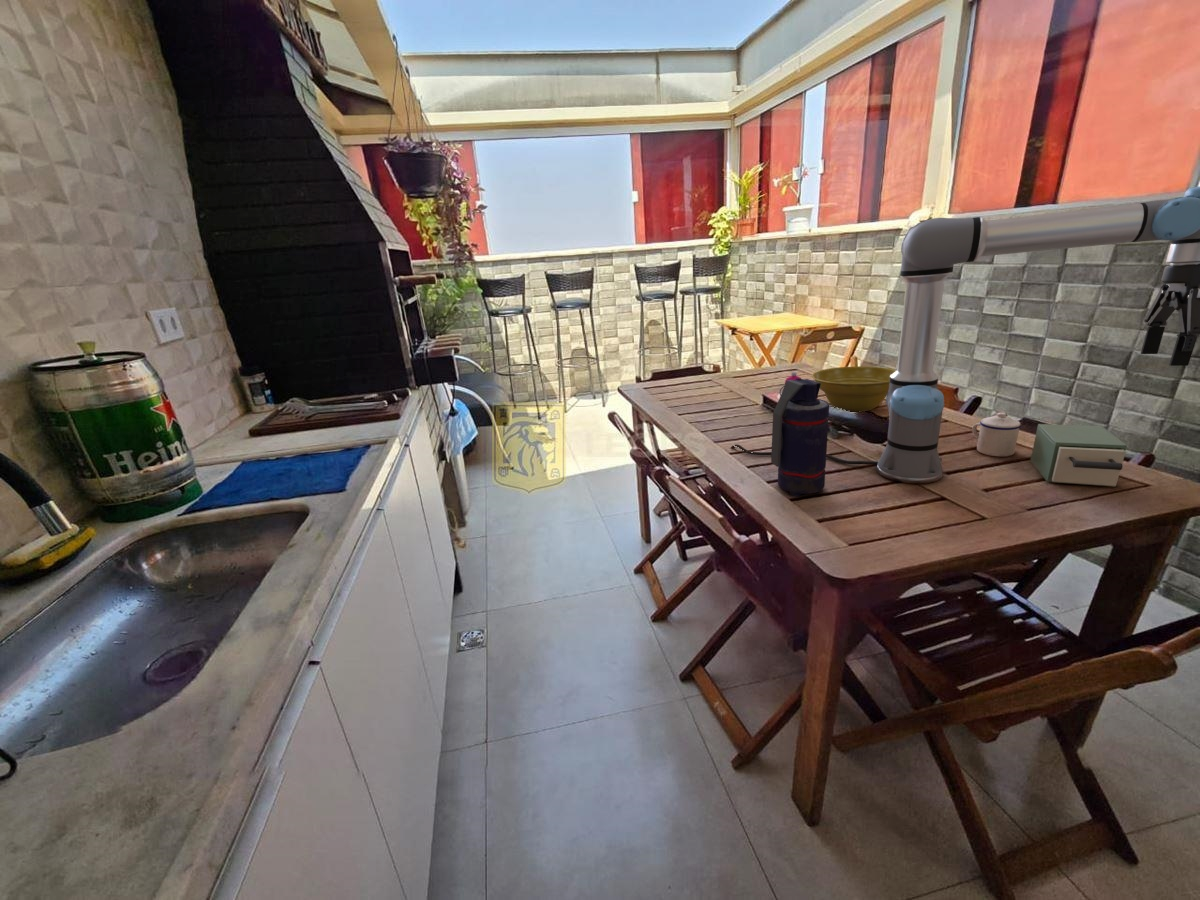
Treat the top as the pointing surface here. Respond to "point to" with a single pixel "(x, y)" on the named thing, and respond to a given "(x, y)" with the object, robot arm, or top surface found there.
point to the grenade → (800, 437)
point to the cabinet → (1067, 444)
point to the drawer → (1088, 465)
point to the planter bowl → (854, 386)
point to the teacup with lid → (997, 435)
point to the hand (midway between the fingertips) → (1162, 359)
